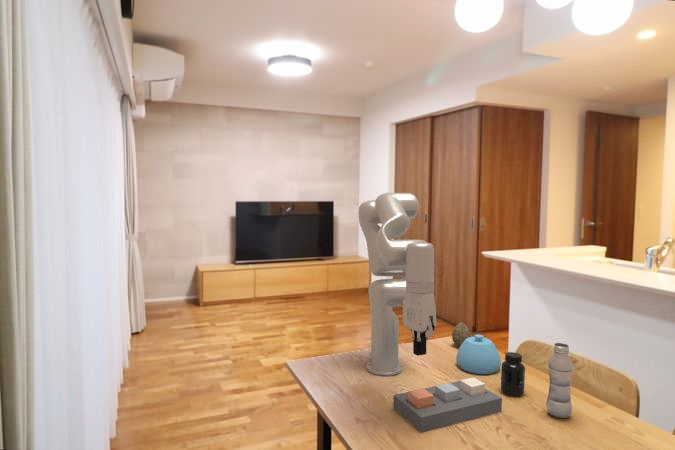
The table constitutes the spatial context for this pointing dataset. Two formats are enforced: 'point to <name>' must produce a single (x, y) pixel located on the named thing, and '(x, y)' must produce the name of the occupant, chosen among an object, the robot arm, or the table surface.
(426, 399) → the terracotta button
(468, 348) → the sugar bowl
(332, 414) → the table surface
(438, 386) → the light gray button
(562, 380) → the plastic bottle
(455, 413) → the button panel
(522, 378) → the supplement bottle
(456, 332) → the decorative egg
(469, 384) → the cream button
